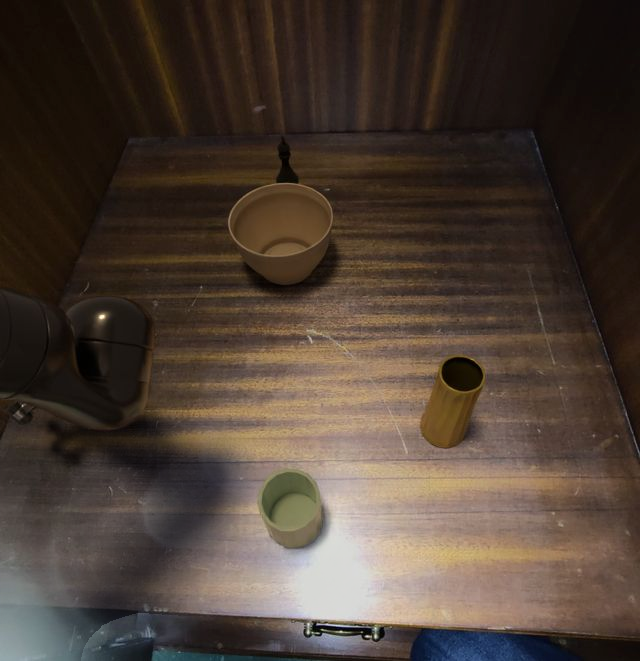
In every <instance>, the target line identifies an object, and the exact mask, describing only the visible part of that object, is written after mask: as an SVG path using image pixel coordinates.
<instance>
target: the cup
mask: <svg viewBox="0 0 640 661" xmlns="http://www.w3.org/2000/svg"><path fill="white" fill-rule="evenodd" d="M258 490H259V491H258V495H257V496H258V497H257V507H258V510H259V515H260V517H261V519H262V521H263V523H264V525H265V528H266V529H267V531H268V534H269V535H270V536H271V538H272V539H273V540H274V541H275V542H276V543H277V544H279V545H280V546H282V547H284V548H288V549H300V548H304V547H306V546H308V545H309V544H312V543H313V541H314V540H315V539H316V538H317V537H318V535H319V534H320V532H321V529H322V527H323V522H324V512H323V511H324V510H323V504H322V496H321V492H320V489H319V486H318V483H317V482H316V480H315V479H314V478H313V477H312V476H311V475H310V473H308V472H305V471H304V470H302V469H299V468H291V467H290V468H289V467H288V468H287V467H286V468H282V469H279V470H277V471H274V472H273V473H272V474H270V475H269V476H268V477H267V478H266V479H265V480H264V481H263V483H262V485H261V487H260V489H258Z"/></svg>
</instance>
